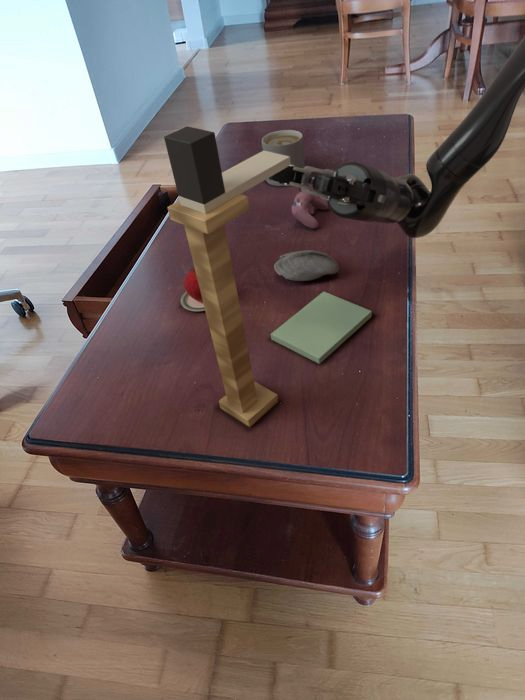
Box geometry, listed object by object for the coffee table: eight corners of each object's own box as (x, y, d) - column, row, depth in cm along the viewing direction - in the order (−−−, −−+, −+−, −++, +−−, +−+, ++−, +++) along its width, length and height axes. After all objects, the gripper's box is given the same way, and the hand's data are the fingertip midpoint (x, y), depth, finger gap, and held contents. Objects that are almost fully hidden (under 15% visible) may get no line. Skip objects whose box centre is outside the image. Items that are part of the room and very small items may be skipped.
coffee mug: (304, 184, 125) (301, 143, 119) (264, 187, 127) (259, 147, 120) (306, 162, 135) (304, 123, 129) (269, 165, 137) (264, 126, 130)
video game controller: (313, 214, 117) (298, 187, 114) (330, 206, 114) (315, 179, 111) (301, 236, 110) (284, 208, 107) (319, 228, 108) (302, 200, 105)
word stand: (278, 401, 74) (247, 196, 53) (249, 427, 71) (205, 221, 50) (248, 383, 77) (208, 184, 56) (220, 408, 74) (166, 206, 53)
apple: (176, 296, 97) (167, 266, 92) (215, 282, 98) (209, 253, 94) (189, 318, 91) (180, 288, 87) (230, 303, 93) (224, 273, 88)
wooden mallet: (290, 165, 57) (285, 98, 53) (205, 214, 51) (190, 143, 46) (264, 158, 60) (256, 94, 55) (180, 205, 53) (163, 136, 48)
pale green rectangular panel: (371, 316, 85) (371, 310, 84) (319, 364, 78) (319, 358, 78) (323, 296, 91) (323, 291, 90) (271, 339, 84) (270, 334, 83)
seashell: (340, 261, 99) (339, 238, 95) (338, 286, 93) (337, 263, 89) (279, 262, 101) (276, 239, 98) (273, 286, 95) (270, 263, 92)
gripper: (331, 158, 77) (262, 135, 65) (416, 177, 69) (355, 155, 57) (318, 208, 80) (248, 196, 67) (399, 232, 71) (336, 222, 59)
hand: (297, 177), depth 62 cm, fingers open, 8 cm apart
